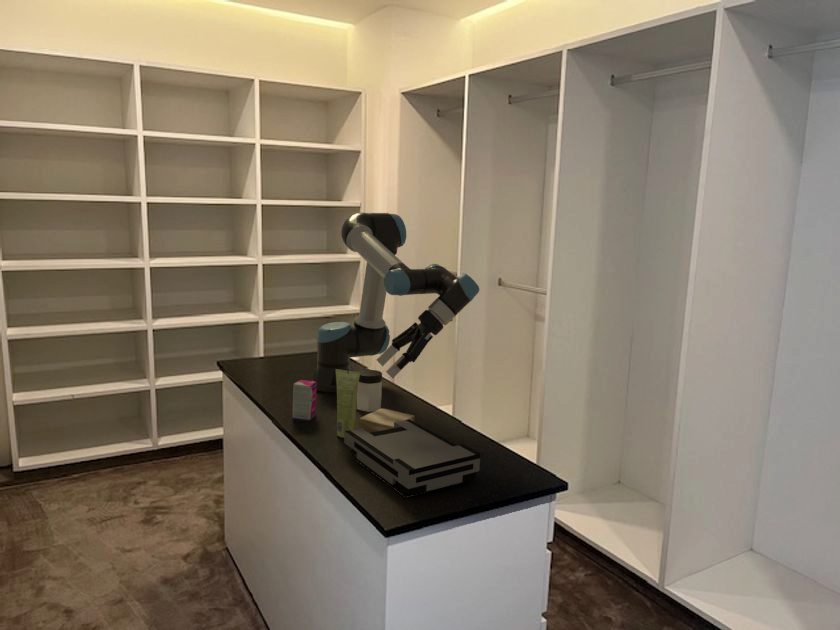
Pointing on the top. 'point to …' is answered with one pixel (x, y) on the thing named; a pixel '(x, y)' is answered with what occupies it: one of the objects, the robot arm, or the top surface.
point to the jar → (369, 390)
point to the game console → (413, 457)
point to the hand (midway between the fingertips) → (384, 369)
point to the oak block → (382, 420)
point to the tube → (346, 400)
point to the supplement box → (304, 400)
